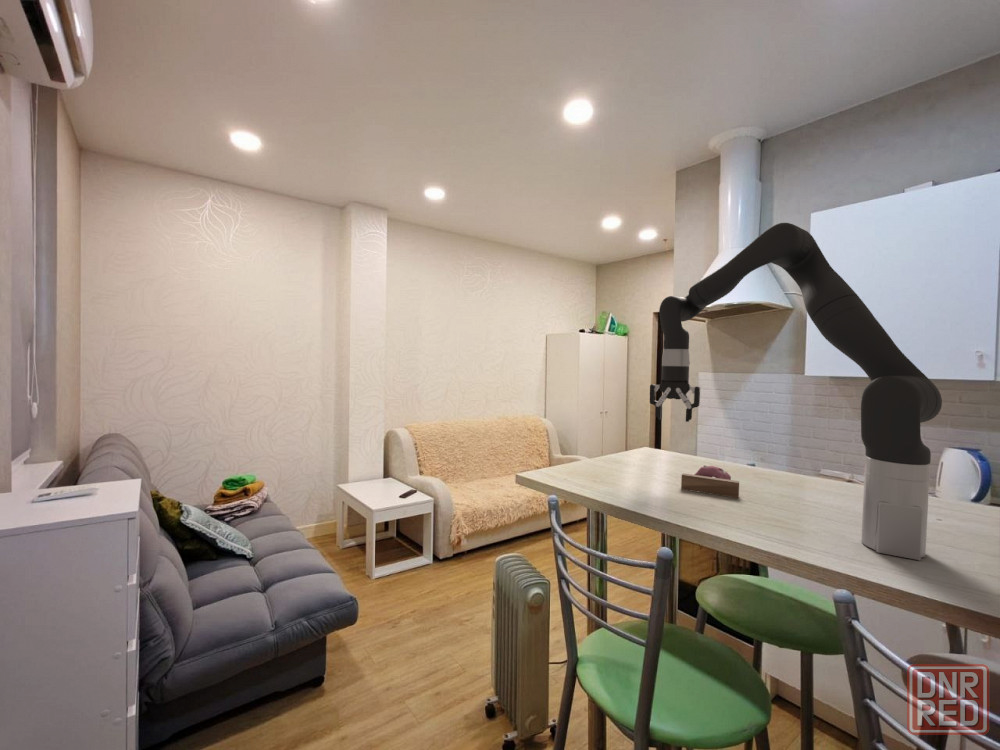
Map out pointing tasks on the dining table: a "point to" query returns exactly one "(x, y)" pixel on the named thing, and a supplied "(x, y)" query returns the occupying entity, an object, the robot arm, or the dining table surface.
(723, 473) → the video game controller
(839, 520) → the dining table surface
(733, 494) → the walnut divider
